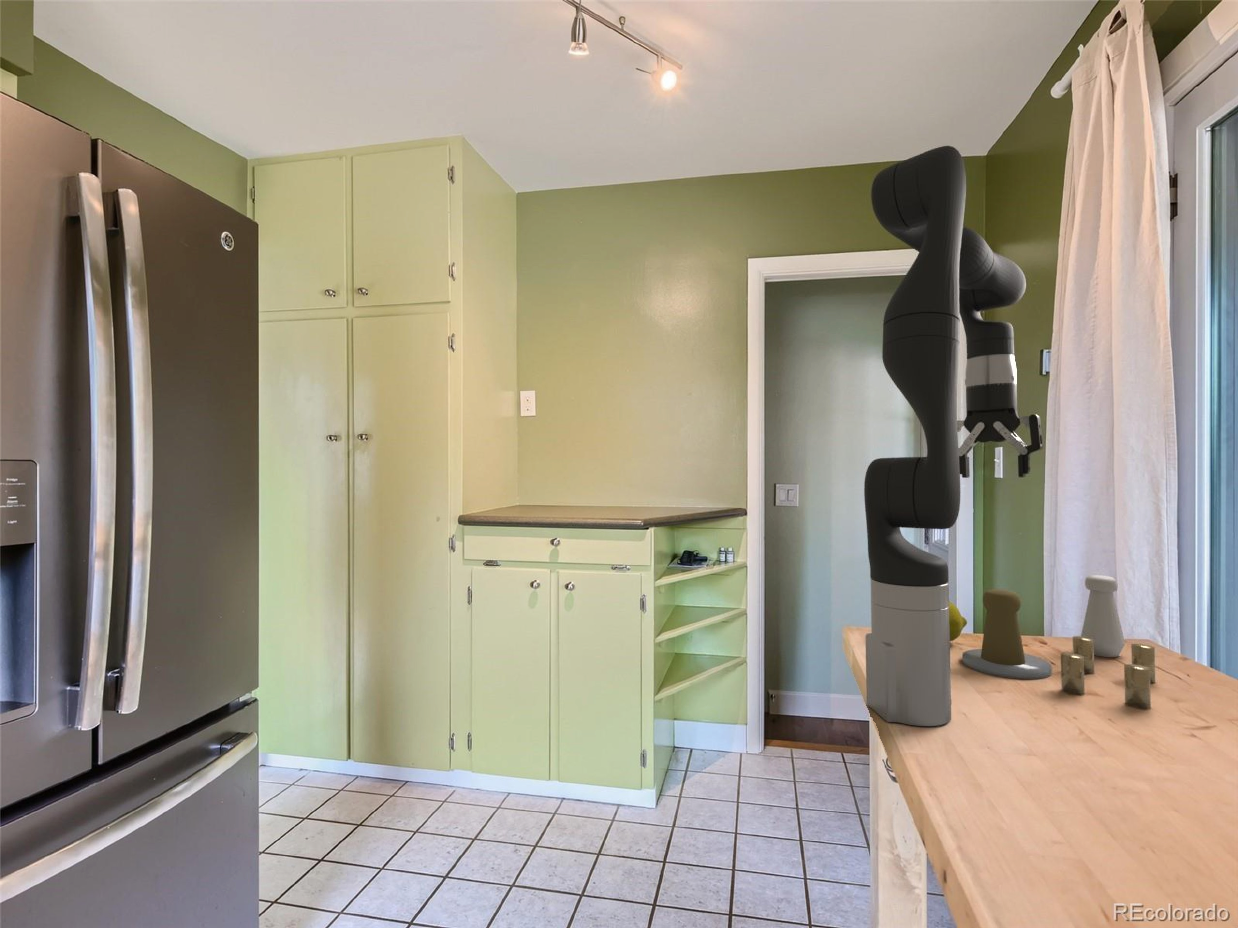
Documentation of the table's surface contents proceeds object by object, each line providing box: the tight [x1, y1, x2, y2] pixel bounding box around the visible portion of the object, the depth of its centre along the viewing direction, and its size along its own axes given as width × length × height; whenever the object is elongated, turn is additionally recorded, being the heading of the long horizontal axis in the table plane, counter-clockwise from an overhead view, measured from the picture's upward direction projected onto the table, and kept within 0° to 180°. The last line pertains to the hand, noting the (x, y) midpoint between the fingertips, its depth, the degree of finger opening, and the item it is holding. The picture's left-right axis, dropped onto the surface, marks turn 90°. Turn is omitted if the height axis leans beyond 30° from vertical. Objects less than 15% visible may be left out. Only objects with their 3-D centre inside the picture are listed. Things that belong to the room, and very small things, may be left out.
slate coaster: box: [961, 648, 1053, 680], centre depth 97 cm, size 12×12×1 cm
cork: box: [981, 588, 1025, 665], centre depth 97 cm, size 6×6×11 cm
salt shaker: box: [1080, 574, 1126, 658], centre depth 103 cm, size 6×6×13 cm
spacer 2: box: [1072, 635, 1095, 675], centre depth 94 cm, size 3×3×5 cm
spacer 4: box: [1123, 663, 1152, 710], centre depth 81 cm, size 3×3×5 cm
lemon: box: [949, 601, 968, 642], centre depth 111 cm, size 11×8×8 cm
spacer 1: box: [1060, 652, 1086, 696], centre depth 86 cm, size 3×3×5 cm
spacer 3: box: [1131, 643, 1156, 684], centre depth 90 cm, size 3×3×5 cm
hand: (993, 477), depth 106 cm, fingers open, 8 cm apart
